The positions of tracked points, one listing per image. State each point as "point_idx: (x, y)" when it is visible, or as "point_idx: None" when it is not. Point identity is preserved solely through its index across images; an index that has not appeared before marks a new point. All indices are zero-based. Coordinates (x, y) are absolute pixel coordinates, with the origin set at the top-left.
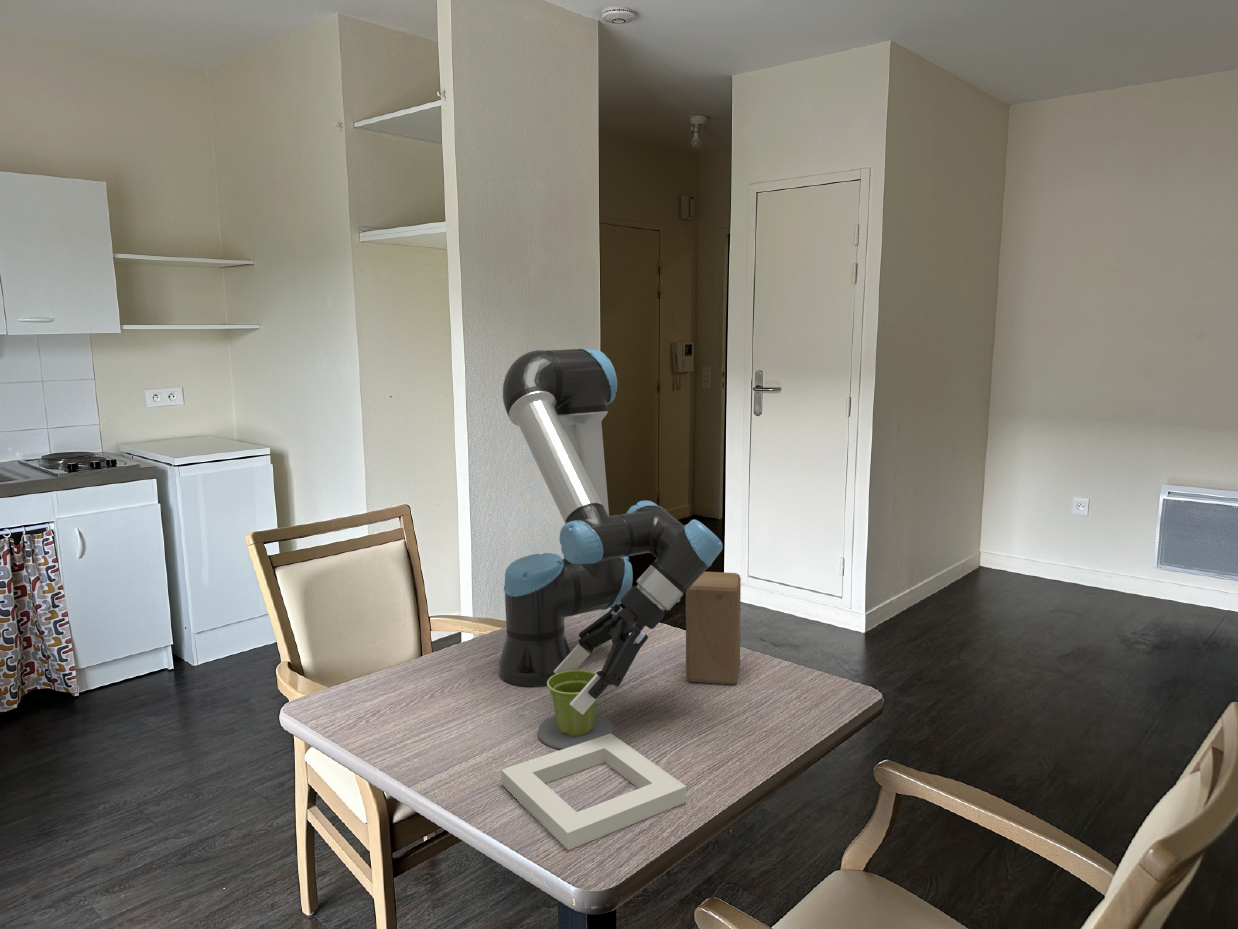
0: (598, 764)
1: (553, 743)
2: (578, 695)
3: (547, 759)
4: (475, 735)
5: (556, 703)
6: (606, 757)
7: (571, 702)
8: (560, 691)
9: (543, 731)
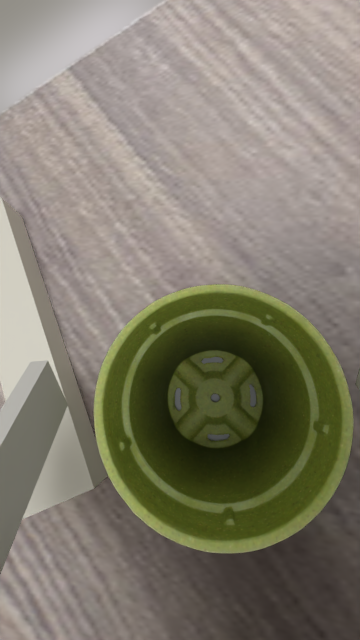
0: None
1: None
2: (18, 396)
3: (10, 297)
4: (244, 165)
5: (177, 329)
6: None
7: (41, 365)
8: (281, 355)
9: None
